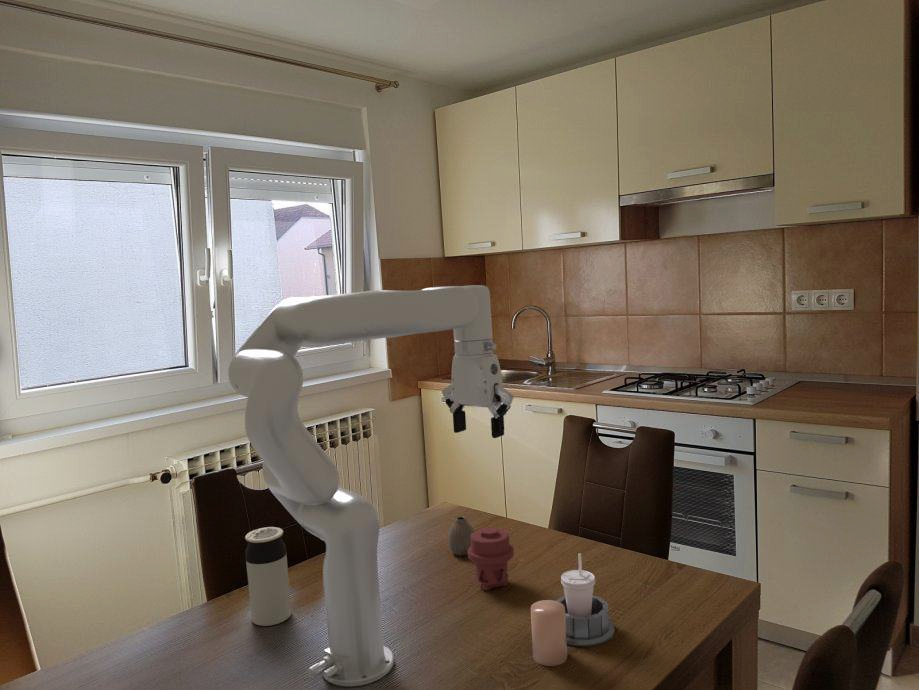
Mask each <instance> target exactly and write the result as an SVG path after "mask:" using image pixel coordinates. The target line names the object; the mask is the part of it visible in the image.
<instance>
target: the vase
mask: <svg viewBox="0 0 919 690" xmlns="http://www.w3.org/2000/svg"><path fill="white" fill-rule="evenodd" d="M474 532H476V530H475V529H474V527H473V526H472V525H471V524H470V523H469V521H468V520H467V518H466V517H465V516H457V517H456V518H455V519H454V522H453V523H452V525H451V526H450V527H449V530H448V533H447V543H448V547H449V549H450V550H451V552H452V553H453V554H454V555H456V556H459V557H463V556H468V548H469V547H470V546H471V534H472V533H474Z"/></svg>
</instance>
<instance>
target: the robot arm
mask: <svg viewBox="0 0 919 690" xmlns="http://www.w3.org/2000/svg"><path fill="white" fill-rule="evenodd" d="M490 294H491V292H490V290H489V288H488V287H487V285H483V284H480V285H479V284H478V285H476V284H473V285H472V284H471V285H462V286H461V285H453V286H452V285H450V286H449V285H447V286H442V285H441V286H432V287H430V286H429V287H426V288H425V287H424V288H422V289H419V290H395V289H393V290H391V289H389V290H388V289H386V290H385V289H383V290H379V289H375V290H365V291H356V292H347V293H337V294H327V295H318V296H317V295H316V296H315V295H314V296H301V297H300V296H298V297H297V296H296V297H295V296H294V297H289V298H286V299H284V300H282V301H280V303H279V304H277V305H275V307H274V308H273V309H272V310H271V311H270V313H268V314H267V315H266V317H265V318H264V319H263V320H262V322H261V323H260V324H259V325H258V326H257V327H256V328H255V330H254V331H253V332H252V334H250V336H249V337H248V338H247V339H246V340H245V342H244V343H243V344H242V345H241V347H239V349H238V350H237V351H236V352H235V353H234V355H233V356H232V358H231V360H230V362H229V365H228V366H229V367H228V371H227V375H228V381H229V383H230V385H231V387H232V389H234V391H235V392H236V393H237V394H239V395H241V396H243V397H246V398H247V401H246V404H245V405H246V406H245V412H244V414H245V415H244V427H245V428H244V429H245V432H246V433H245V434H246V437H247V439H248V441H249V443H250V445H251V447H252V448H253V450H254V451H255V452H256V454H257V455H258V456H259V458H260V459H261V460H262V470H261V471H262V477H263V479H264V480H263V481H264V482H265V484H266V487H267V488H268V489H269V491H270V492H271V493H272V495H273V496H274V497H275V498H276V499H277V500H278V501H279V503H281V505H282V506H283V507H284V508H285V510H287V512H288V513H289V514H290V515H291V516H292V517H293V519H294V520H295V521H296V522H297V523H298V524H299V525H300V526H301V528H303V529H304V530H306V531H307V532H308V533H309V534H311V535H313V536H315V537H317V538H319V540H321V541H324V543H325V556H324V559H323V564H322V565H323V566H322V580H323V583H322V584H323V591H324V601H325V602H324V603H325V614H326V626H327V627H326V628H327V639H328V647H327V648H325V649H324V650H323V652H324V653H323V655H324V657H322V658H321V659H320V662H317V663H315V664H313V665H312V666H309V667H307V669H306V674H307V677H308V678H309V679H311V680H313V679H317V677H319V676H320V675H322V677H323V678H324V679H325V680H326V681H327V682H328V683H331V684H332V685H335V686H339V687H340V686H341V687H348V688H349V687H360V686H364V685H368V684H371V683H374V682H376V681H378V680H380V679H382V678H383V677H385V676H386V675H387V674H389V673H390V671H391V670H392V668H393V666H394V654H393V652H392V650H391V649H390V648H389V647H387V646H385V645H384V634H383V633H384V632H383V620H382V619H383V618H382V606H381V605H382V604H381V592H380V579H379V567H378V543H379V535H380V517H379V512H378V511H377V508H376V507H375V505H374V504H373V503H372V502H371V501H370V500H369V499H367V498H366V497H364V496H363V495H361V494H359V493H356V492H354V491H351V490H349V489H346V488H343V487H341V486H340V474H339V470H338V468H337V466H336V464H335V462H334V460H333V459H332V458H331V457H330V456H329V455H328V453H327V452H326V451H325V450H324V449H323V448H322V447H321V446H320V444H319V443H318V442H317V441H316V439H315V438H314V437H313V436H312V434H311V433H310V432H309V429H307V427H306V426H305V424H304V422H303V421H302V419H301V417H300V414H299V409H298V408H299V401H300V396H301V392H302V389H303V385H304V372H303V369H302V366H301V364H300V362H299V361H298V359H297V358H295V356H296V354H297V353H298V352H299V350H300V349H301V347H302V348H303V347H304V348H324V347H325V348H326V347H330V346H337V345H344V344H350V343H356V342H362V341H363V342H364V341H370V340H377V339H388V338H390V339H391V338H398V337H402V336H409V335H416V334H427V333H435V332H442V331H449V330H453V341H454V343H453V345H454V355H453V357H452V365H451V380H450V381H451V384H450V385H448V386H447V387H445V388H444V389H442V390H441V394H442V396H443V398H444V400H445V405H446V406H447V407H448V408H449V412H450V413H451V414H452V423H453V433H455V434H457V433H461V432H464V431H466V430H467V419H466V410H464V408H465V407H466V406H467V407H468V406H469V407H475V408H476V407H478V408H487V409H488V411H489V412H490V414H491V415H492V417H491V418H490V428H491V429H490V430H491V437H492V438H493V439H497V438H500V437H503V436H504V435H505V418H504V416H506V415H507V412H508V411H509V410H510V409H511V407H512V404H513V400H514V395H513V394H512V393H511V392H510V391H508V390H507V389H506V388H504V384H503V377H502V370H501V366H500V362H499V358H498V354H494V351H495V350H497V348H498V347H497V344H496V343H495V342H494V343H493V324H492V310H491V309H492V308H491V295H490Z"/></svg>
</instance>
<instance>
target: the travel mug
mask: <svg viewBox="0 0 919 690" xmlns="http://www.w3.org/2000/svg"><path fill="white" fill-rule="evenodd" d="M283 534H284V530H283V529H282V528H280V527H275V526H268V527H267V526H266V527H261V528H257V529H253V530H252V531H251V530H250V531H249V532H248V533H247V534H246V535H245V536H244V539H245V541H247V546H246V549H245V564H246V573H247V587H248V594H249V605H250V615H251V616H250V618H251V622H252V623H253V624H255V625H257V626H261V627H270V626H275V625H279V624H281V623H283V622H285V621H286V620H288V619H289V618H290V617H291V616H292V605H291V604H292V602H291V591H290V590H291V589H290V580H289V568H288V557H287V546H286V544H285V543H284V541H283V539H282V537H283Z"/></svg>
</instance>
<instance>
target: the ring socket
mask: <svg viewBox="0 0 919 690" xmlns="http://www.w3.org/2000/svg"><path fill="white" fill-rule="evenodd" d="M555 601H557V602H560V603H562V604H563V605H564V606H565V620H566V641H567V646H570V647H579V648H590V647H591V648H592V647H598V646H602V645H604V644H606V643H607V642H610V640H612V639H613V638H614V636H615V632H616V631H615V628H616V627H615V624H614V622H613V621H612V620H611V619H610V617H609V616H610V615H609V603H608V602H607V601H606V600H605V599H603V598H602V597H600V596H597V595H594V594H593V598H592V610H591V615H590V616H573V615H570V614H568V610H567V604H566V598H565V595H562V596H560V597H559V598H558V599H556V600H555Z"/></svg>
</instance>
